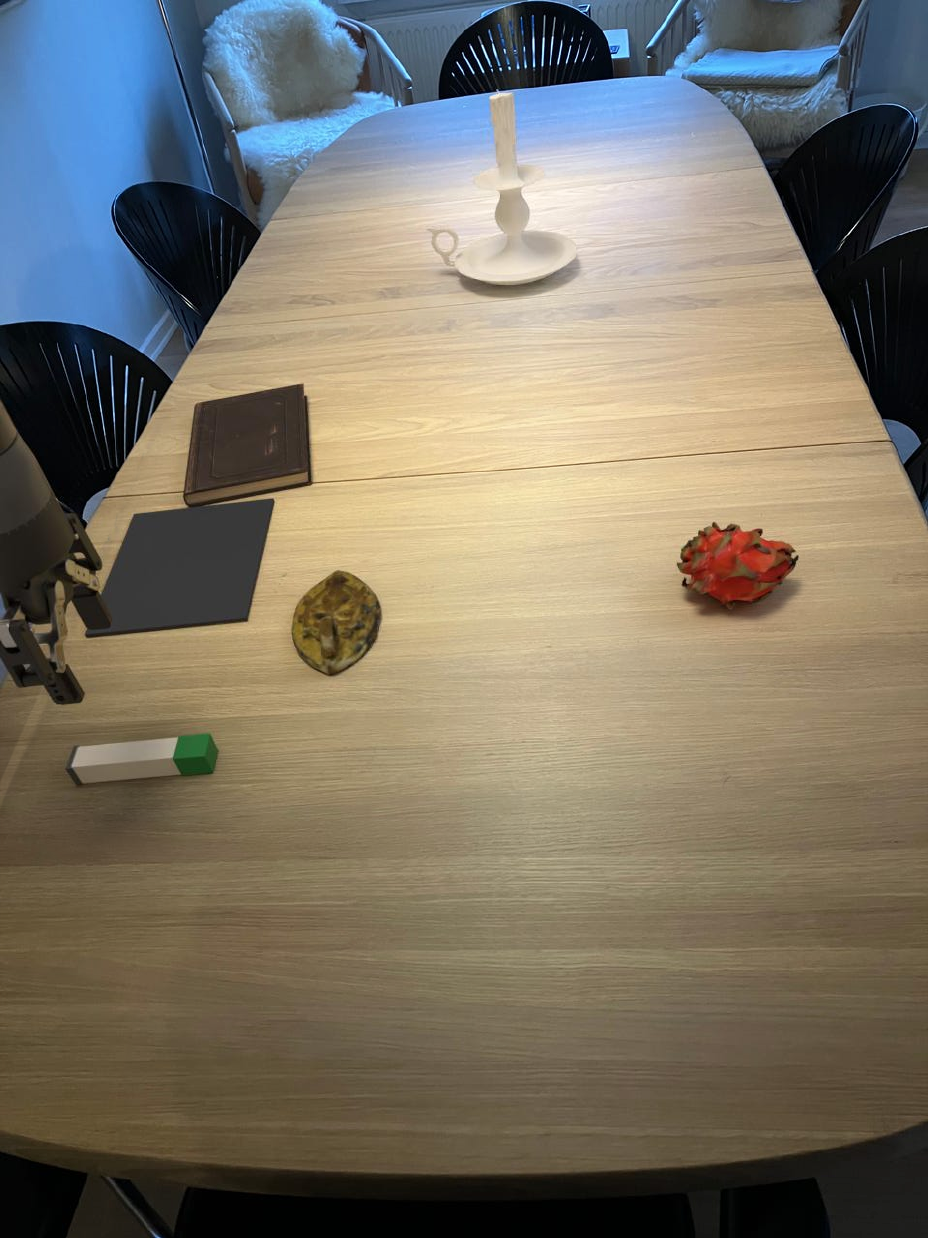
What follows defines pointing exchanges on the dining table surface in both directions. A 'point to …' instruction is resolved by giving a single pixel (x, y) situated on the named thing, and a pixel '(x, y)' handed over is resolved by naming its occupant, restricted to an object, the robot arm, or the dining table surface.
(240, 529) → the mat
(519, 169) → the candlestick
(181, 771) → the marker
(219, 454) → the hardcover book
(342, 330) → the dining table surface
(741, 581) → the dragon fruit
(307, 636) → the seal
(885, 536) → the dining table surface
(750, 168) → the dining table surface
